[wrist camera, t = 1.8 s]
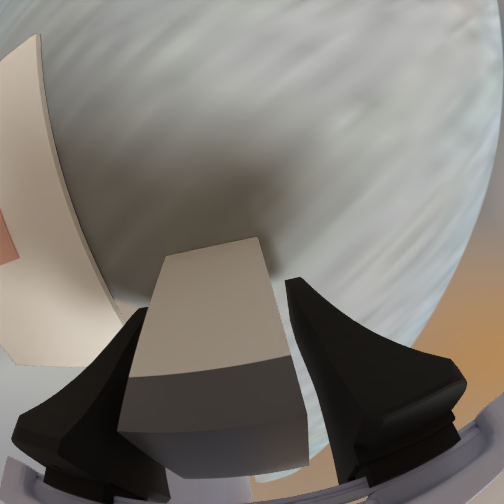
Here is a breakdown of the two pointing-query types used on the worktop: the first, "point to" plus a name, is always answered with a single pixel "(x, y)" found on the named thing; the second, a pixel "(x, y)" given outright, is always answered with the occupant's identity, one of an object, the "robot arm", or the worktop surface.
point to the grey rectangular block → (215, 370)
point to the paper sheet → (43, 235)
